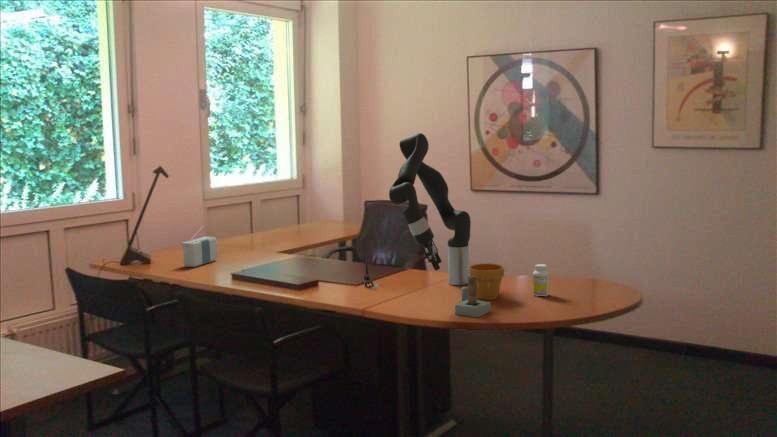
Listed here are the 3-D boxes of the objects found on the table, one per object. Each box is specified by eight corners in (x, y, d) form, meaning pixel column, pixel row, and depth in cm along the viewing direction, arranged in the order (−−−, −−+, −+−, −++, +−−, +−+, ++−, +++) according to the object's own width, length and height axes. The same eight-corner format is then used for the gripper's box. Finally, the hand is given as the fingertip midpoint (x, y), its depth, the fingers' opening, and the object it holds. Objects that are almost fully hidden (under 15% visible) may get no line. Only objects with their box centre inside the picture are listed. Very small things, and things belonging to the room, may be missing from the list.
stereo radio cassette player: (194, 268, 386) (192, 230, 384) (181, 267, 390) (179, 229, 387) (218, 260, 406) (216, 224, 403) (206, 259, 409) (203, 223, 406)
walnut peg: (470, 311, 290) (470, 275, 289) (478, 312, 289) (477, 276, 287) (466, 312, 288) (466, 277, 286) (474, 314, 286) (473, 278, 284)
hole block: (467, 307, 295) (467, 299, 295) (490, 311, 289) (490, 302, 289) (455, 313, 287) (455, 305, 286) (478, 317, 281) (478, 308, 281)
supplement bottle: (538, 292, 317) (538, 262, 315) (552, 294, 312) (552, 264, 311) (529, 295, 313) (529, 265, 311) (543, 298, 308) (543, 267, 306)
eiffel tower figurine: (374, 291, 329) (373, 261, 327) (352, 290, 332) (351, 260, 330) (383, 283, 343) (382, 255, 342) (361, 282, 346) (361, 254, 344)
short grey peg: (464, 303, 302) (463, 286, 301) (471, 304, 300) (470, 287, 299) (460, 305, 300) (460, 288, 299) (467, 306, 298) (467, 289, 297)
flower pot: (503, 301, 303) (503, 270, 301) (468, 301, 306) (468, 270, 304) (504, 293, 317) (504, 263, 315) (471, 293, 319) (470, 263, 317)
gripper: (414, 229, 302) (431, 264, 304) (410, 239, 288) (428, 275, 291) (431, 222, 300) (448, 257, 303) (427, 231, 286) (445, 268, 289)
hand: (438, 266), depth 297 cm, fingers open, 8 cm apart
